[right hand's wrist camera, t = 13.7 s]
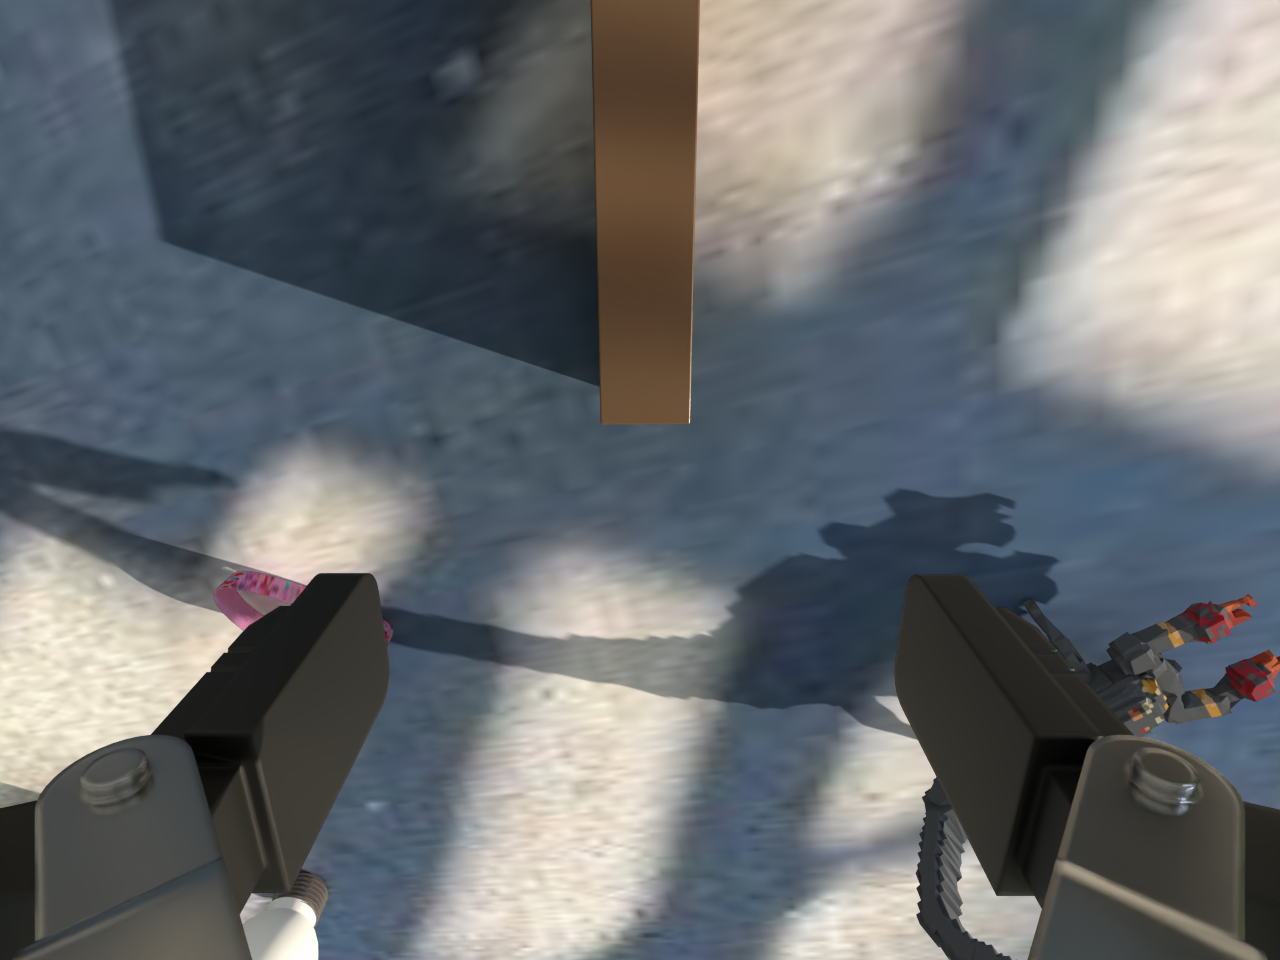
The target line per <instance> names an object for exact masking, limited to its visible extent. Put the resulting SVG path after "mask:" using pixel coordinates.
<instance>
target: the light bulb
mask: <svg viewBox="0 0 1280 960" xmlns="http://www.w3.org/2000/svg"><path fill="white" fill-rule="evenodd" d="M327 899H328V892H327V886H326V884H325V883H324V881H323V880H322V879H321V878H319V877H317V876H315V875H313V874H308V873H299V874H298V876H297V878H296V880H295V882H294V884H293V886H292V888H291V890H290V892H289V893H276V894H275V896H274V898H273V900H272V902H271V903H269V905H268V906H267V908H266V910H265V912H262V913H260V914H258V915H256V916H255V917H253V918H251V919H249V920H248V921H247V922H246V923H244V924H243V929H244V932H245V936H246V939H247V943H248V946H249V950H250V953H251V957H252V960H318V942H317V938H316V934H315V930H314V927H315V926H316V924H317V922H318V919H319V917H320V915H321V913H322V910H323V908H324V906H325V904H326V901H327Z"/></svg>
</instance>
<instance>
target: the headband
mask: <svg viewBox="0 0 1280 960" xmlns="http://www.w3.org/2000/svg"><path fill="white" fill-rule="evenodd" d="M305 588H306V587H305V586H302V585H299V584H296V583H293V582H290V581H287V580H283V579H280V578H277V577H273V576H269V575H265V574H261V573H256V572H249V571H238V572H235V573H233V574H232V575H231V576H230V577H229V578H228V579H227V580H226V581H225V582H224V583H222V584H221V585H220V586H219V587H218V588H217V589H216V590H215V591H214V594H213V596H214V600H215V602H216V604H217V606H218V607H219V609H220V610H221V611H222V612H223V613H224V614H225V615H226V616H227V617H228V618H229V619H230V620H231V621H232V622H233V623H234V624H236V625H237V626H238V627H239V628H241V629H242V630H243V631H244V630H245V629H246V628H247V627H248V626H249V625H250V624H252V623H253V622H255V621H257V620H258V619H260V618H262V617H263V615H262V614H260V613H259V612H258V611H256V610H255V609H254V608H253V607H251V606H250V605H249V604H248V603H247V602H246V601H245V600H244V599H243V598H242V597H241V596H240V595H239V594H238V592H237V591H236V589H241V590H246V591H250V592H254V593H258V594H262V595H266V596H269V597H272V598H276V599H279V600H282V601H285V602H288V603H291V604H292V603H293V602H294V601H295V600H296V598H297V597H298V596H299V595H300V594H301V592H302V591H303V590H304V589H305ZM383 625H384V631H385V638H386V645H387V646H388V644H389V642H390V640H391V638H392V637H393V633H394V632H393V628H392V627H391V625H390V624H389V623H388V622H387V621H385V620H384V619H383Z"/></svg>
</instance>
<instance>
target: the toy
mask: <svg viewBox="0 0 1280 960" xmlns="http://www.w3.org/2000/svg"><path fill="white" fill-rule="evenodd" d="M1023 604H1024V605H1025V607H1026V609H1027V610H1028V612H1029V613H1030V615H1031V617H1032V618H1033V619H1034V621H1035V622H1036V623H1037V624H1038V625H1039V626H1040V628H1041V629H1042V630H1043V631H1044V632H1045V633H1046V634H1047V637H1048V639H1049V641H1050V643H1051V644H1052V645H1053V646H1054V647H1055V648H1056V649H1057V654H1058V655H1062V656H1063V657H1064V658H1065V659H1066V660H1067V661H1068V663H1069V664H1070V665H1071V666H1072V667H1073V668H1074V672H1075V674H1079V675H1080V676H1081V677H1082V678H1083V679H1084V680H1085V681H1086V682H1087V684H1088V685H1089V686H1090V687H1091V688H1092V689H1093V690H1094V691H1095V692H1096V694H1097V695H1098V696H1099V697H1100V698H1101V699H1102V700H1103V701H1104V702H1105V704H1106V705H1107V706H1108V707H1109V708H1110V709H1111V710H1112V711H1113V712H1114V713H1115V715H1116V716H1117V717H1118V718H1119V719H1120V720H1121V721H1122V722H1123V723H1124V725H1125V726H1126V727H1127V728H1128V729H1129V730H1130V731H1131V732H1132V733H1133V735H1134V736H1141V737H1142V736H1144V735H1146V734H1149V733H1151V732H1150V730H1151V729H1152V728H1153V727H1156V726H1158V724H1159V723H1160V722H1161V721H1163V720H1166V721H1167V722H1168V723H1171V722H1174V723H1175V724H1180V723H1185V722H1189V721H1192V720H1197V719H1205V718H1211V717H1217V716H1222V715H1226V714H1231V713H1232V712H1231V710H1230V709H1231V708H1232V707H1233V706H1234V705H1235V704H1236V703H1237V702H1239V701H1240V700H1242V699H1250V700H1252V701H1256V702H1258V701H1259V700H1261V699H1263V698H1265V697H1267V696H1269V695H1270V694H1272V693H1274V692H1276V690H1275V688H1274V685H1273V680H1274V679H1275V677H1276V675H1277V673H1278V671H1279V670H1280V656H1279V657H1277V658H1275V656H1274V655H1273V654H1272V653H1271V652H1270V650H1268V651H1265V652H1263V653H1261V654H1259V655H1256V656H1254V657H1252V658H1250V659H1245V660H1242V661H1239V662H1237V663H1235V664H1232V665H1229V666H1228V667H1226V672H1227V673H1226V674H1225V675H1224V677H1223V678H1222V679H1221V680H1220V681H1219V683H1218V684H1217V685H1216V686H1215V687H1214V688H1210V689H1200V690H1192V691H1187V692H1184V690H1183V688H1182V686H1181V684H1180V682H1182V681H1183V680H1182V678H1181V676H1180V674H1179V671H1180V670H1181V669H1182V667H1181V666H1180V665H1179V664H1178V663H1177V662H1176V661H1175V660H1168V659H1165V658H1164V657H1163V656H1162V654H1161V653H1162V652H1165V651H1167V650H1170V649H1172V648H1175V647H1177V646H1179V645H1182V644H1184V643H1186V642H1189V641H1200V642H1206V643H1207V644H1211V643H1214V642H1216V641H1218V640H1220V639H1222V638H1224V637H1226V636H1228V635H1230V634H1231V632H1230V628H1231V627H1233V626H1236V625H1238V624H1240V623H1242V622H1244V621H1246V620H1248V619H1250V618H1252V616H1251V615H1249V614H1248V613H1247V612H1246V611H1245V610H1243V609H1236V608H1238V607H1240V606H1242V605H1244V604H1247V605H1249V606H1255V605H1258V604H1257V603H1256V602H1255V601H1254V599H1253V598H1252V597H1251V596H1250V595H1249V594H1248V595H1247V596H1246V597H1244V598H1241V599H1239V600H1236V601H1234V600H1233V601H1230V602H1227V603H1224V604H1220V605H1216V604H1212V603H1211V601H1209V603H1208V604H1205V603H1197V604H1192V605H1191V606H1190V607H1189V608H1188V609H1187V610H1185V611H1184V612H1183V613H1181V614H1180V615H1178V616H1176V617H1174V618H1172V619H1170V620H1168V621H1167V622H1164V623H1163V622H1159V623H1157V624H1155V625H1153V626H1151V627H1148V628H1146V629H1144V630H1142V631H1139V632H1136V633H1133V634H1129V633H1128V632H1127V633H1125V634H1123V635H1122V636H1120V637H1119V638H1117V639H1116V640H1114V641H1113V642H1111V643H1109V646H1110V648H1109V649H1108V650H1107V652H1108V654H1109V655H1110V657H1111V658H1112V660H1110V661H1108V662H1106V663H1104V664H1102V665H1099V666H1096V665H1094V664H1092V663H1089V664H1087V665H1086V664H1085V662H1084V660H1083V659H1082V657H1081V656H1080V654H1079V653H1078V652H1077V650H1076V649H1075V647H1074V646H1073V645H1072V643H1071V642H1070V640H1069V639H1068V638H1067V637H1065V636H1064V635H1063V634H1062V633H1061V632H1060V631H1059V630H1058V629H1057V628H1056V627H1055V626H1054V625H1053V624H1052V623H1051V622H1050V621H1049V620H1048V619H1047V618H1046V617H1045V616H1044V615H1043V613H1042V612H1041V610H1040V609H1039V607H1038V606H1037V604H1036V603H1035V602H1034V601H1033V600H1032V599H1029V600H1027V601H1025V602H1024V603H1023ZM1233 609H1236V610H1234V611H1232V612H1231V610H1233ZM925 794H926V795H925V796H923V797H922V799H923V801H924V803H925V809H926V813H925V814H926V817H925V818H923V820H924V823H925V825H924V826H923V827H922V829H923V831H922V832H921V833H920V836H921V839H922V841H921V842H920V843H919V846H920V848H921V851H920V852H919V853H918V855H919V858H920V862H919V863H918V864H917V866H918V870H917V872H916V875H917V878H918V881H919V883H920V885H919V886H918V887H917V891H918V893H919V896H920V899H921V901H920V902H918V903H917V904H918V907H919V910H920V913H918V914H916V915H917V918H918V921H919V923H920V925H921V926H922V927H923V929H924V930H925V931H926V932H927V933H928V935H929V936H930V937H931V938H932V940H933V941H934V942H935V943H936V945H937V946H938V947H941V948H942V950H943V951H944V953H945V954H946V956H947V957H948V959H949V960H1012V959H1011V958H1010V956H1004V955H1003V954H1002V953H1000V954H998V952H997V951H996V950H995V949H994V947H993V946H992V945H986V944H985V942H979V941H978V940H977V939H973V938H972V937H971V935H970V934H969V933H968V932H967V931H966V930H965V929H964V928H963V926H962V924H961V922H960V920H959V918H958V917H959V916H960V915H962V912H961V909H960V906H961V905H962V904H963V902H962V900H961V898H960V895H959V893H958V890H957V882H958V881H959V880H960V879H961V878H962V876H961V872H960V866H961V853H963V852H965V851H964V849H963V847H962V845H963V843H965V841H966V840H967V839H968V838H967V836H966V834H965V832H964V830H963V828H962V826H961V824H960V822H959V820H958V818H957V816H956V814H955V812H954V810H953V808H952V806H951V804H950V802H949V800H948V798H947V796H946V794H945V792H944V790H943V788H942V786H941V784H940V782H939V780H938V778H937V777H936V778H935V779H934V784H933V785H932V787H931V789H929V790H928V791H926V792H925Z"/></svg>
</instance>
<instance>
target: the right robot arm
mask: <svg viewBox="0 0 1280 960" xmlns="http://www.w3.org/2000/svg"><path fill="white" fill-rule="evenodd" d="M388 682H389V659H388V652H387V645H386V638H385V631H384V625H383V618H382V611H381V604H380V598H379V591H378V586H377V582H376V580H375V578H374V576H373V575H372V574H370V573H320V574H318V575H316V576H315V577H314V578H313V579H312V580H311V582H310V583H309V584H308V585H307V586H306V588H305V589H304V590H303V591H302V592H301V594H300V595H299V596H298V597H297V598H296V600H295V601H294V602H293V603H292V604H291V605H290V606H279V607H278V608H276V609H275V610H273V611H271V612H270V613H268V614H266V615H265V616H263V617H262V618H260V619H258V620H257V621H255V622H253V623H252V624H250V625H249V626H248V627H247V628H246V629H245V630H244V631H243V632H242V633H241V634H240V636H239V637H238V638H237V639H236V640H235V641H234V642H233V643H232V645H231V646H230V647H229V648H228V653H223V655H222V656H221V657H220V658H219V659H218V660H217V661H216V662H215V664H214V665H213V666H212V667H211V672H206V674H205V675H204V676H203V677H202V678H201V679H200V680H199V681H198V683H197V684H196V685H195V686H194V687H193V688H192V689H191V690H190V691H189V693H188V694H187V695H186V696H185V697H184V698H183V699H182V700H181V701H180V703H179V704H178V705H177V706H176V707H175V708H174V709H173V710H172V712H171V713H170V714H169V715H168V716H167V717H166V718H165V719H164V720H163V722H162V723H161V724H160V725H159V726H158V727H157V728H156V729H155V731H154V732H153V733H152V734H151V735H147V736H139V737H134V738H130V739H125V740H122V741H119V742H116V743H113V744H110V745H107V746H105V747H102V748H100V749H98V750H96V751H94V752H92V753H90V754H87V755H86V756H84V757H82V758H81V759H79V760H77V761H75V762H74V763H72V764H71V765H70V766H68V767H67V768H65V769H64V770H63V771H62V772H60V773H59V774H58V775H57V776H56V777H54V778H53V780H52V781H51V782H50V783H49V784H48V785H47V786H46V787H45V789H44V790H43V791H42V793H41V794H40V796H39V798H38V800H37V801H32V802H28V803H23V804H18V805H14V806H9V807H5V808H0V960H252V957H251V953H250V950H249V946H248V943H247V939H246V936H245V932H244V929H243V925H242V922H241V918H240V913H241V911H242V909H243V908H244V906H245V904H246V902H247V900H248V898H249V897H250V895H251V893H289V892H290V890H291V888H292V886H293V884H294V882H295V880H296V878H297V876H298V874H299V872H300V870H301V868H302V866H303V864H304V862H305V860H306V858H307V856H308V854H309V852H310V850H311V848H312V846H313V844H314V842H315V840H316V838H317V836H318V834H319V832H320V830H321V828H322V826H323V824H324V822H325V820H326V818H327V816H328V814H329V812H330V810H331V808H332V806H333V804H334V802H335V800H336V798H337V796H338V794H339V792H340V790H341V788H342V786H343V784H344V782H345V780H346V778H347V776H348V774H349V772H350V770H351V768H352V766H353V764H354V762H355V760H356V758H357V756H358V754H359V751H360V749H361V747H362V745H363V743H364V741H365V739H366V737H367V735H368V733H369V731H370V729H371V727H372V725H373V723H374V721H375V719H376V717H377V715H378V713H379V711H380V709H381V707H382V705H383V703H384V700H385V697H386V693H387V689H388ZM895 685H896V691H897V695H898V699H899V702H900V705H901V707H902V709H903V711H904V713H905V715H906V717H907V719H908V721H909V723H910V725H911V727H912V729H913V731H914V733H915V735H916V737H917V739H918V741H919V743H920V745H921V747H922V749H923V751H924V753H925V755H926V757H927V759H928V761H929V763H930V764H931V766H932V768H933V770H934V772H935V774H936V776H937V778H938V780H939V782H940V784H941V786H942V788H943V790H944V792H945V794H946V796H947V798H948V800H949V802H950V804H951V806H952V808H953V810H954V812H955V814H956V816H957V818H958V820H959V822H960V824H961V826H962V828H963V830H964V832H965V834H966V836H967V838H968V840H969V842H970V844H971V846H972V848H973V850H974V852H975V854H976V856H977V858H978V860H979V862H980V864H981V866H982V868H983V870H984V872H985V874H986V876H987V878H988V880H989V882H990V884H991V886H992V887H993V889H994V891H995V893H996V895H997V896H1035V897H1036V899H1037V901H1038V903H1039V905H1040V906H1041V908H1042V911H1041V914H1040V918H1039V922H1038V925H1037V929H1036V932H1035V936H1034V939H1033V943H1032V946H1031V950H1030V953H1029V957H1028V960H1280V810H1279V809H1274V808H1270V807H1265V806H1261V805H1256V804H1252V803H1248V802H1244V801H1243V800H1242V798H1241V796H1240V794H1239V793H1238V791H1237V790H1236V789H1235V787H1234V786H1233V785H1232V784H1231V783H1230V782H1229V781H1228V780H1227V778H1226V777H1224V776H1223V775H1222V774H1221V773H1220V772H1218V771H1217V770H1216V769H1215V768H1213V767H1212V766H1210V765H1209V764H1208V763H1206V762H1205V761H1203V760H1201V759H1199V758H1198V757H1196V756H1194V755H1193V754H1190V753H1188V752H1186V751H1184V750H1182V749H1180V748H1178V747H1175V746H1173V745H1170V744H1167V743H1164V742H1161V741H1158V740H1155V739H1150V738H1146V737H1141V736H1134V735H1133V733H1132V732H1131V731H1130V730H1129V729H1128V728H1127V727H1126V726H1125V725H1124V723H1123V722H1122V721H1121V720H1120V719H1119V718H1118V717H1117V716H1116V715H1115V713H1114V712H1113V711H1112V710H1111V709H1110V708H1109V707H1108V706H1107V705H1106V704H1105V702H1104V701H1103V700H1102V699H1101V698H1100V697H1099V696H1098V695H1097V694H1096V692H1095V691H1094V690H1093V689H1092V688H1091V687H1090V686H1089V685H1088V684H1087V682H1086V681H1085V680H1084V679H1083V678H1082V677H1081V676H1080V675H1079V674H1075V672H1074V668H1073V667H1072V666H1071V665H1070V664H1069V663H1068V661H1067V660H1066V659H1065V658H1064V657H1063V656H1062V655H1058V654H1057V649H1056V648H1055V647H1054V646H1053V645H1052V644H1051V643H1050V642H1049V640H1048V639H1047V638H1046V637H1045V636H1044V635H1043V634H1042V633H1041V632H1040V630H1039V629H1038V628H1037V627H1036V626H1034V625H1032V624H1031V623H1029V622H1027V621H1026V620H1024V619H1023V618H1021V617H1019V616H1018V615H1016V614H1014V613H1013V612H1011V611H1009V610H1008V609H1006V608H1005V607H994V606H993V605H992V604H991V602H990V601H989V600H988V599H987V598H986V596H985V595H984V594H983V593H982V592H981V591H980V589H979V588H978V587H977V586H976V585H975V583H974V582H973V581H972V580H971V579H970V578H969V577H968V576H966V575H963V574H915V575H913V576H911V578H910V579H909V581H908V584H907V587H906V592H905V599H904V605H903V612H902V619H901V626H900V632H899V639H898V646H897V652H896V659H895Z"/></svg>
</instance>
